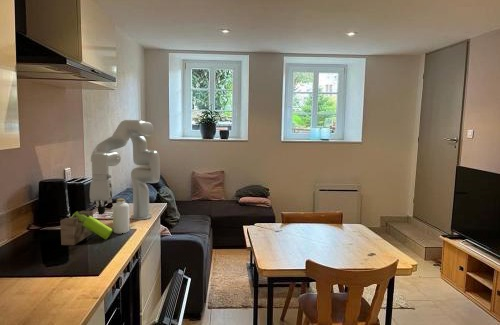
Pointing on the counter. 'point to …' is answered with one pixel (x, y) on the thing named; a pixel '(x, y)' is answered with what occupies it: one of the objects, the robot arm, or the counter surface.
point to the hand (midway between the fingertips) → (101, 213)
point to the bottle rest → (74, 229)
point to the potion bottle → (120, 217)
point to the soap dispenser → (94, 225)
